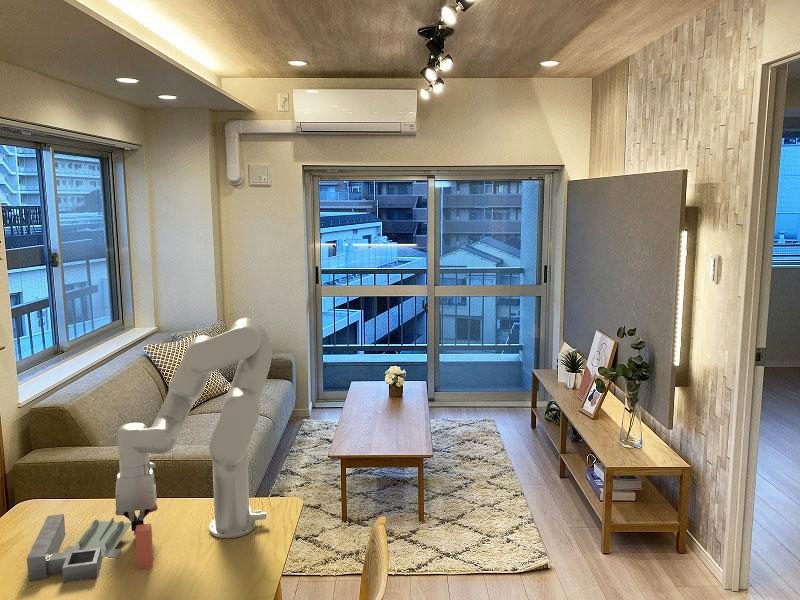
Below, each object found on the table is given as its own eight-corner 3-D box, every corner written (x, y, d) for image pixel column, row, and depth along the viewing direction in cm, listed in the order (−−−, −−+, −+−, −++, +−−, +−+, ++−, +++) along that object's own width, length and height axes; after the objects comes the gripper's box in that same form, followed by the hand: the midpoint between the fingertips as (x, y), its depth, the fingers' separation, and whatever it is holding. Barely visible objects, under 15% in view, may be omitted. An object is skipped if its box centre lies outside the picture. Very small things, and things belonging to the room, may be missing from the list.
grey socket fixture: (111, 528, 182) (110, 508, 181) (97, 578, 158) (95, 555, 157) (49, 536, 178) (47, 515, 177) (25, 588, 154) (23, 565, 153)
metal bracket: (86, 513, 180) (138, 516, 178) (91, 528, 182) (142, 532, 180) (56, 553, 167) (111, 556, 165) (62, 569, 169) (116, 573, 168)
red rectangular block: (153, 559, 167) (151, 523, 165) (152, 566, 163) (150, 529, 162) (138, 561, 166) (136, 525, 164) (137, 569, 162) (135, 531, 161)
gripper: (164, 460, 180) (167, 522, 183) (106, 466, 176) (110, 529, 179) (163, 471, 173) (166, 535, 176) (102, 477, 169) (106, 543, 172)
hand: (137, 532), depth 178 cm, fingers closed
